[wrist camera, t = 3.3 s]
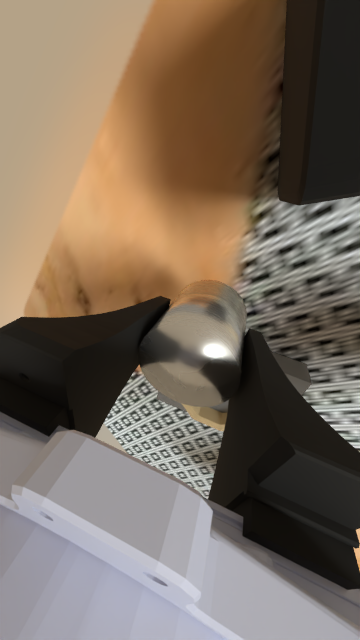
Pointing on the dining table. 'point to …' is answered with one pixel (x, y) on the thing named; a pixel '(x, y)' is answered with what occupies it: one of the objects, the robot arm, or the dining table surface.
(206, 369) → the shiny metal cylinder
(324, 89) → the electronic device
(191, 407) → the grey square plate
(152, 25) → the dining table surface
